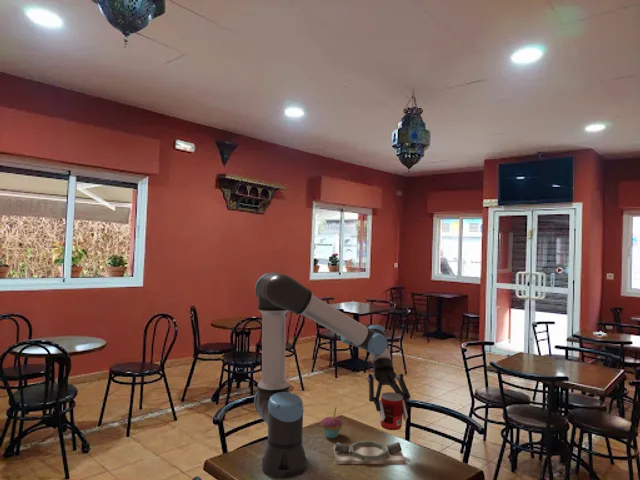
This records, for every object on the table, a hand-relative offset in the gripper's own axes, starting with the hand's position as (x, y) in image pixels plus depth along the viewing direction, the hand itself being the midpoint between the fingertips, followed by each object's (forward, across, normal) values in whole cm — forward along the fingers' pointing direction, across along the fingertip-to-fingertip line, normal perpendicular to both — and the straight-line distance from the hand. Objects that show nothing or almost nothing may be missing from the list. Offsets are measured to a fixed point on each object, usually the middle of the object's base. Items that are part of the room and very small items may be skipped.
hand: (394, 419), depth 156 cm
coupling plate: (+7, +8, -14) cm, 17 cm away
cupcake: (-6, +18, -27) cm, 33 cm away
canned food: (0, 0, -5) cm, 5 cm away
